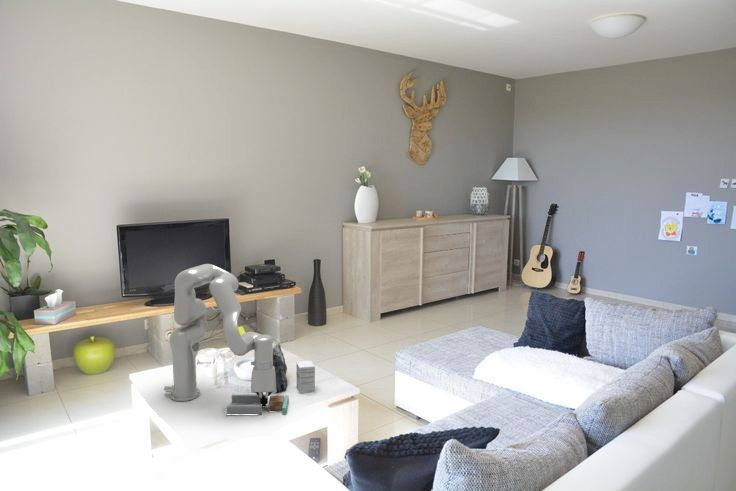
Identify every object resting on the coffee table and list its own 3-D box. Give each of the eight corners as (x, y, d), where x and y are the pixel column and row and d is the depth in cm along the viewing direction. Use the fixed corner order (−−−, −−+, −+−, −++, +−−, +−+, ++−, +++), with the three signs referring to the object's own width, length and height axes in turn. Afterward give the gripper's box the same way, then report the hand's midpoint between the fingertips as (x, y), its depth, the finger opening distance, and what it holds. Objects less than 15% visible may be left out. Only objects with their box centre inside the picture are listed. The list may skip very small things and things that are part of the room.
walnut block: (268, 411, 217) (268, 401, 217) (270, 405, 223) (270, 395, 223) (283, 411, 218) (283, 401, 217) (284, 405, 224) (284, 395, 223)
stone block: (285, 393, 234) (285, 351, 231) (265, 393, 234) (265, 351, 231) (289, 377, 252) (289, 338, 249) (271, 377, 252) (271, 338, 249)
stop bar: (282, 414, 215) (282, 408, 214) (285, 401, 226) (285, 395, 226) (286, 414, 215) (285, 408, 214) (288, 401, 227) (288, 395, 226)
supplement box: (296, 387, 241) (296, 361, 239) (311, 385, 243) (311, 360, 241) (299, 394, 234) (299, 367, 232) (315, 392, 237) (315, 365, 235)
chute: (226, 415, 213) (226, 407, 213) (232, 402, 225) (232, 394, 224) (261, 415, 214) (261, 407, 214) (264, 401, 226) (264, 394, 225)
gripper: (244, 368, 213) (244, 409, 216) (280, 367, 214) (281, 409, 217) (247, 361, 220) (247, 401, 223) (282, 360, 221) (282, 401, 224)
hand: (264, 405), depth 220 cm, fingers closed
